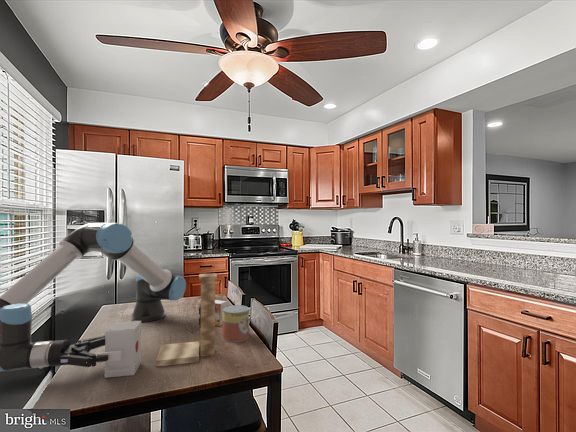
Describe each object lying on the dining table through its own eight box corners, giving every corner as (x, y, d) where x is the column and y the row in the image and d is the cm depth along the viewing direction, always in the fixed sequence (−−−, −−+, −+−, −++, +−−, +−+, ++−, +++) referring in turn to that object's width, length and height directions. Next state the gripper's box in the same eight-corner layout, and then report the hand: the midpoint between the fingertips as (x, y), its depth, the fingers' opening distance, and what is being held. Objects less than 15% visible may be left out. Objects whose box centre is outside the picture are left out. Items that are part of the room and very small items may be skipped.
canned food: (236, 344, 126) (237, 314, 127) (216, 338, 132) (216, 309, 132) (254, 335, 136) (254, 307, 136) (234, 330, 142) (234, 303, 142)
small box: (206, 324, 150) (206, 302, 150) (213, 320, 156) (213, 299, 156) (220, 326, 147) (220, 303, 147) (227, 322, 153) (227, 300, 153)
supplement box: (134, 375, 101) (135, 329, 101) (103, 378, 99) (104, 330, 99) (141, 363, 110) (142, 320, 110) (113, 365, 108) (113, 321, 108)
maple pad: (156, 366, 107) (156, 360, 107) (161, 349, 120) (161, 344, 120) (198, 361, 111) (198, 356, 111) (199, 346, 124) (199, 341, 124)
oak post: (198, 357, 114) (199, 276, 114) (198, 350, 120) (199, 273, 121) (216, 355, 116) (217, 276, 116) (215, 348, 122) (216, 273, 122)
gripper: (68, 349, 111) (134, 343, 116) (30, 386, 87) (115, 376, 92) (68, 328, 111) (134, 323, 116) (30, 358, 87) (115, 350, 92)
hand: (126, 346), depth 104 cm, fingers open, 13 cm apart
